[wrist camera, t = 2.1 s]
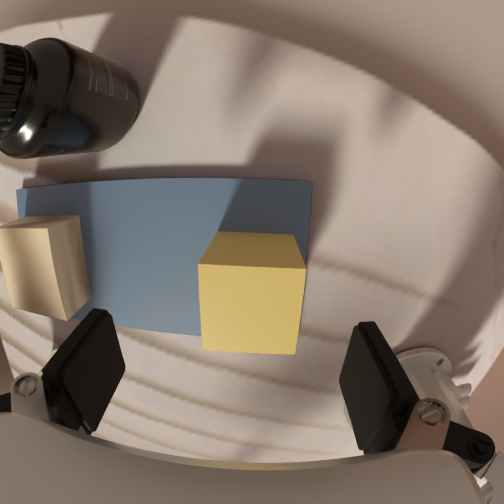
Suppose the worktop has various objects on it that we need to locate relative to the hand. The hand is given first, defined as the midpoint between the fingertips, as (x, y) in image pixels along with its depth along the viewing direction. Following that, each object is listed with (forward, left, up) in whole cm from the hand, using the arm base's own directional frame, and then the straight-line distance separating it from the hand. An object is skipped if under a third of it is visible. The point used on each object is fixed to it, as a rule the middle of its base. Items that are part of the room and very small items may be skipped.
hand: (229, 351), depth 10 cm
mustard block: (-1, +1, -10) cm, 10 cm away
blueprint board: (+8, +1, -11) cm, 14 cm away
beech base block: (+16, +1, -10) cm, 19 cm away
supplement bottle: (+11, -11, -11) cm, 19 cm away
